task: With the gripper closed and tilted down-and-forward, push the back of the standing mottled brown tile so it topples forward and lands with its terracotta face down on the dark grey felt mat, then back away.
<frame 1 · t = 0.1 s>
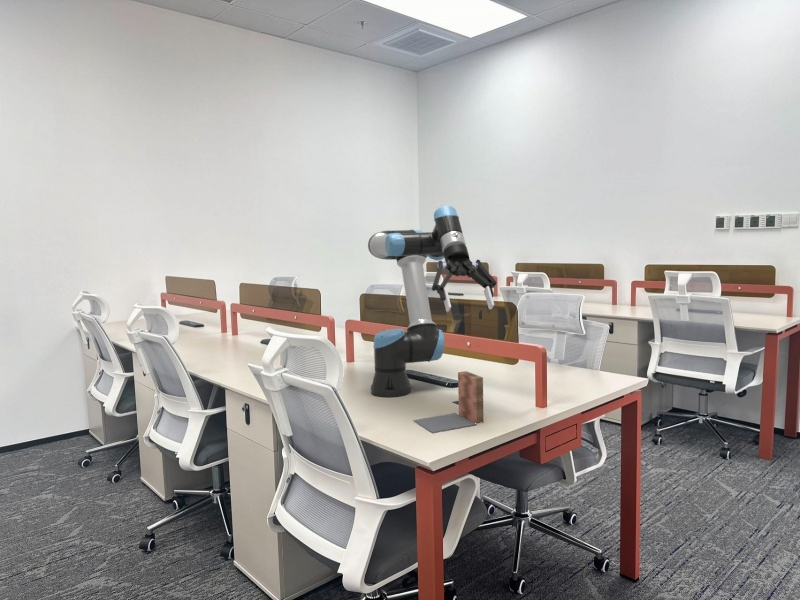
hand: (470, 308, 164), 36 cm above the table, tool tilted 35°, fingers open, 13 cm apart
felt mat: (444, 423, 171), on the table
black notched bracket mount: (466, 403, 194), on the table
mottled brown tile: (471, 418, 175), on the table
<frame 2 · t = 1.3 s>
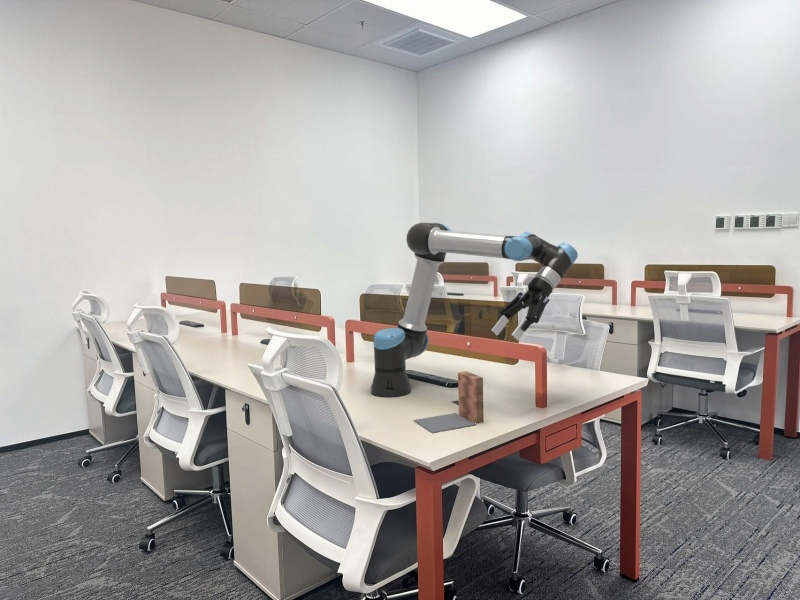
hand: (504, 335, 178), 25 cm above the table, tool tilted 45°, fingers open, 11 cm apart
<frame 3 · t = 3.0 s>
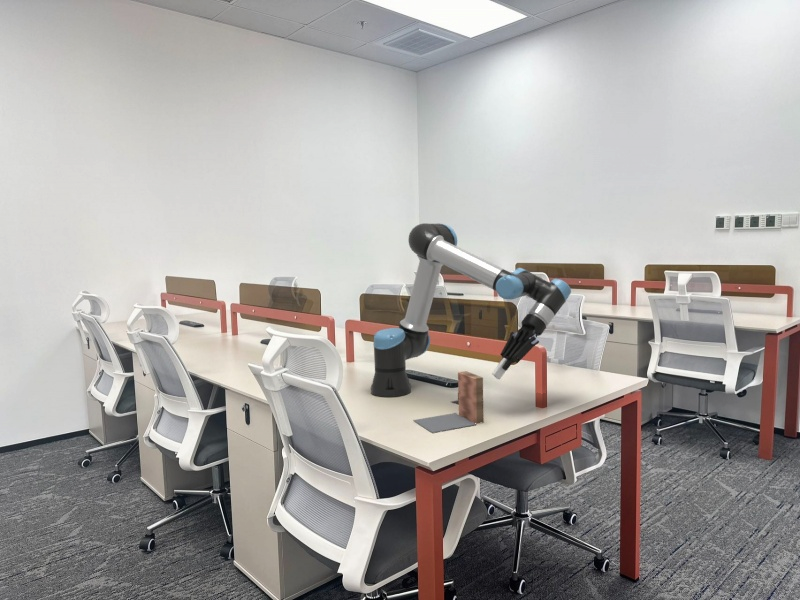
hand: (495, 376, 177), 12 cm above the table, tool tilted 45°, fingers closed
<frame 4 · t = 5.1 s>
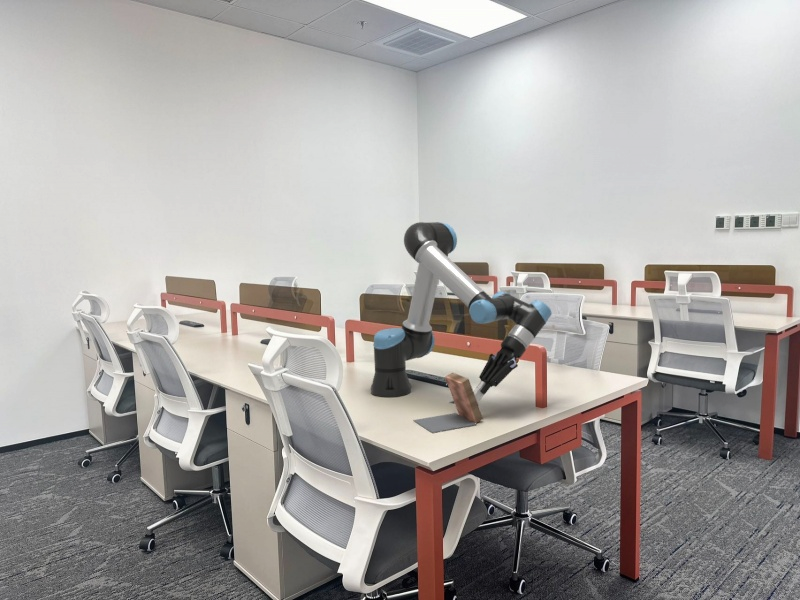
hand: (473, 400, 174), 6 cm above the table, tool tilted 45°, fingers closed
mottled brown tile: (470, 416, 175), on the table, tilted 20°
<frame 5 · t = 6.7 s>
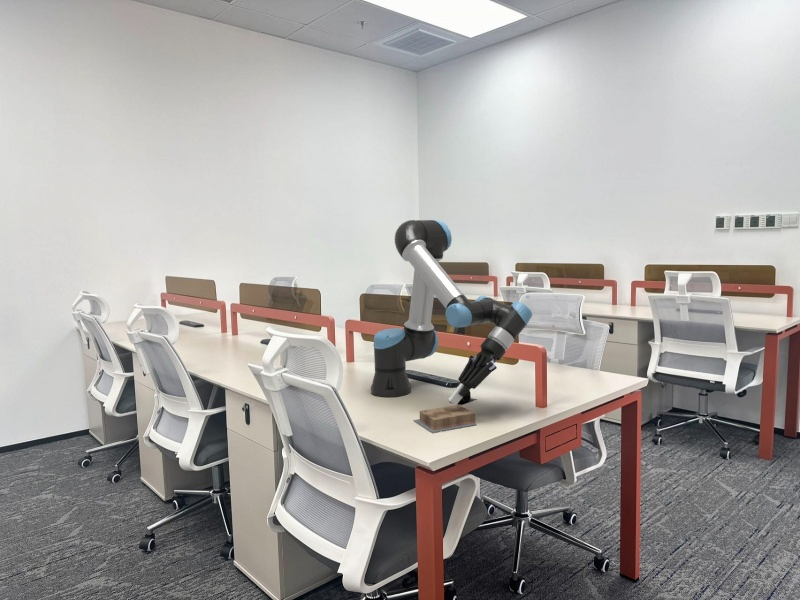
hand: (451, 402, 172), 6 cm above the table, tool tilted 45°, fingers closed
mottled brown tile: (466, 413, 174), point 2 cm above the table, tilted 90°, touching felt mat
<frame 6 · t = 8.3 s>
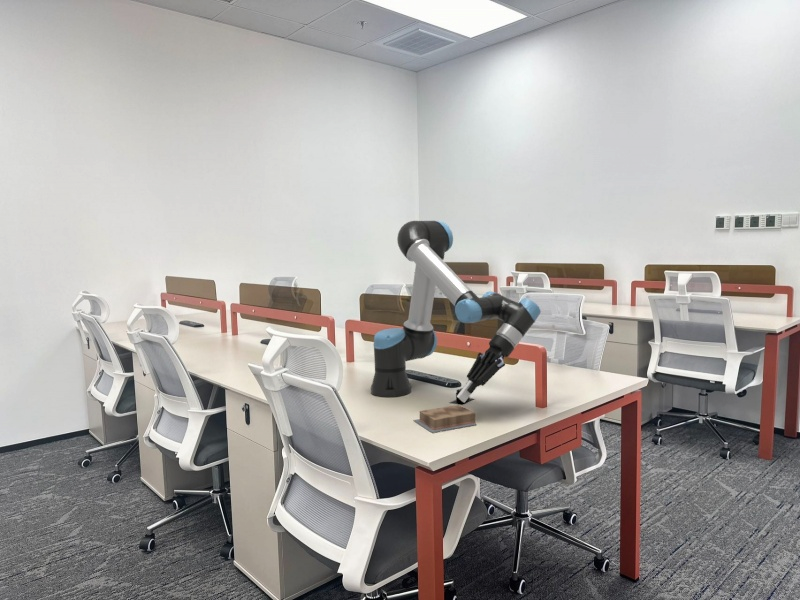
hand: (460, 399, 172), 7 cm above the table, tool tilted 45°, fingers closed
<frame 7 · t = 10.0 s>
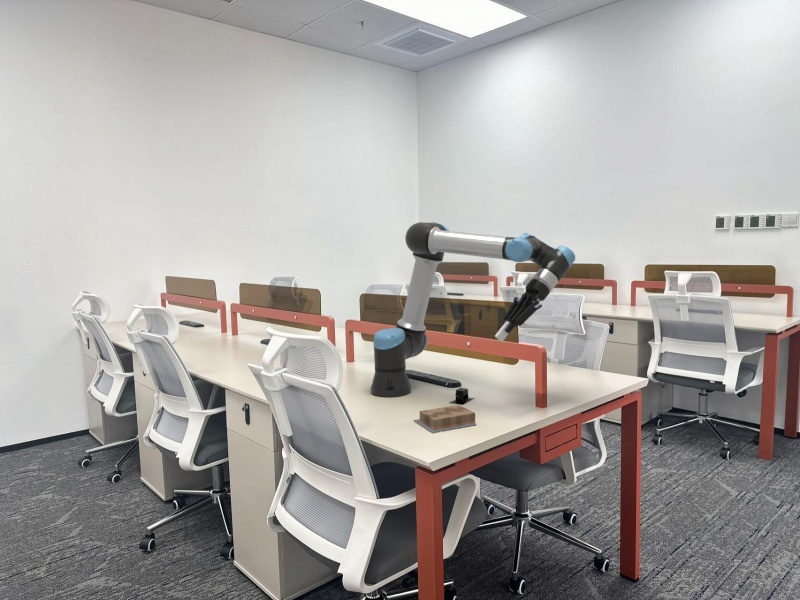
hand: (498, 338, 180), 24 cm above the table, tool tilted 45°, fingers closed
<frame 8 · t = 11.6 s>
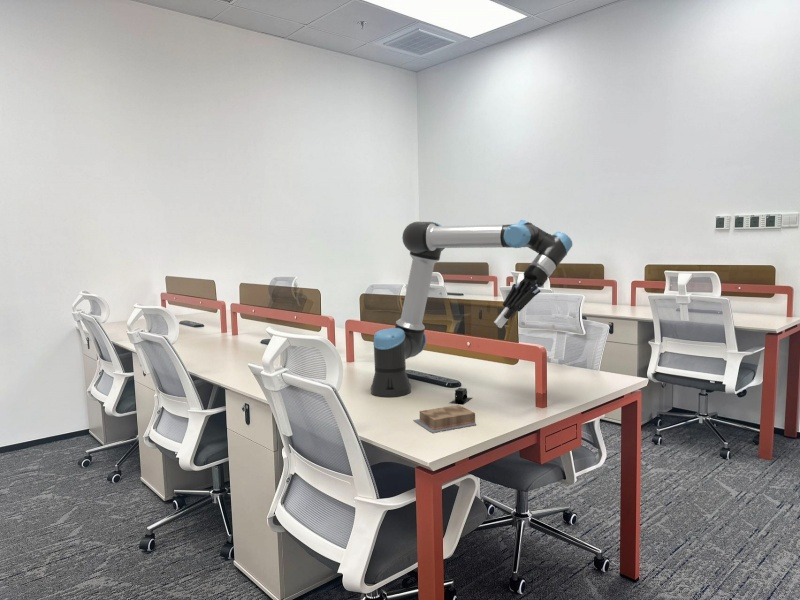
hand: (497, 325, 181), 28 cm above the table, tool tilted 45°, fingers closed
at the end: mottled brown tile tilted 90°; mottled brown tile 8.0 cm from the felt mat (horizontally); mottled brown tile point 1.8 cm above the table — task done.
